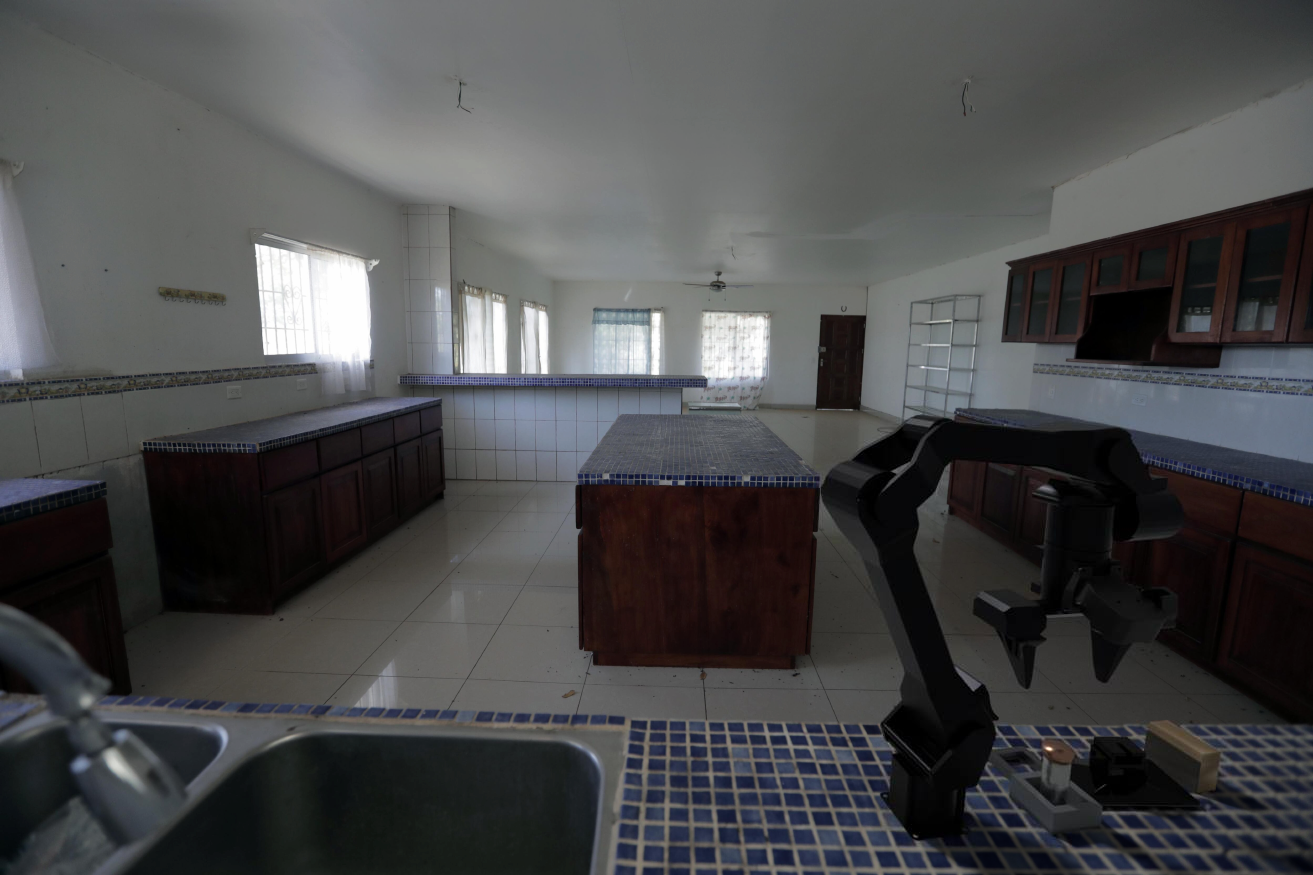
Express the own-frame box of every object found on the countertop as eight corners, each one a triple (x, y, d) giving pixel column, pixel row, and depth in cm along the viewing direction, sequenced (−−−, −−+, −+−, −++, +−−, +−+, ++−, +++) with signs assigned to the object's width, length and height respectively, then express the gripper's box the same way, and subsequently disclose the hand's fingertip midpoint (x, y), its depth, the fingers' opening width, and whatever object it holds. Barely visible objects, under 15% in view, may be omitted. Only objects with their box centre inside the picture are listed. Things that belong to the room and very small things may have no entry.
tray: (1051, 835, 59) (1054, 812, 58) (1009, 795, 64) (1011, 773, 64) (1099, 829, 60) (1102, 806, 59) (1054, 789, 65) (1056, 768, 65)
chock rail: (1194, 796, 64) (1200, 754, 64) (1142, 761, 70) (1147, 721, 70) (1214, 793, 65) (1220, 751, 64) (1161, 758, 71) (1167, 719, 70)
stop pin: (1052, 819, 60) (1058, 758, 59) (1030, 799, 63) (1035, 740, 62) (1075, 815, 61) (1081, 754, 60) (1052, 795, 64) (1058, 737, 63)
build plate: (1079, 806, 62) (1082, 766, 62) (1038, 760, 70) (1040, 723, 69) (1201, 806, 62) (1205, 765, 61) (1147, 759, 69) (1150, 722, 69)
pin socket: (1017, 787, 65) (1018, 779, 65) (985, 757, 70) (986, 749, 70) (1056, 782, 66) (1057, 774, 66) (1022, 753, 71) (1023, 745, 71)
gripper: (1057, 575, 53) (1042, 738, 55) (1239, 566, 55) (1218, 722, 57) (974, 538, 64) (964, 674, 66) (1129, 532, 66) (1114, 664, 68)
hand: (1063, 684), depth 64 cm, fingers open, 9 cm apart
